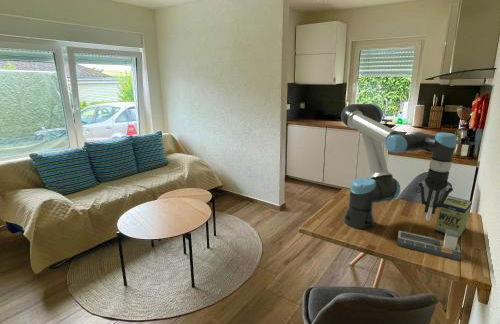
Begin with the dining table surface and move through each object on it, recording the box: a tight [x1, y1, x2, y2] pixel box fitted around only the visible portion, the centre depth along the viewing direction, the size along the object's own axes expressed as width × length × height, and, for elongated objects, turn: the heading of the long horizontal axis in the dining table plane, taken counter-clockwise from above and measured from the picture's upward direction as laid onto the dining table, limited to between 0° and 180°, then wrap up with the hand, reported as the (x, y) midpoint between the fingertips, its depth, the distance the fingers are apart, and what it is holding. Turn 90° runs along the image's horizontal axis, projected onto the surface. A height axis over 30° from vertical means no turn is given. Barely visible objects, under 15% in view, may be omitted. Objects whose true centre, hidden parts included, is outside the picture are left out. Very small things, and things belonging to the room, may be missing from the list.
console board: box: [396, 229, 462, 262], centre depth 134 cm, size 24×12×3 cm, turn 62°
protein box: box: [434, 195, 473, 241], centre depth 146 cm, size 10×16×16 cm
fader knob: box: [443, 229, 460, 250], centre depth 129 cm, size 4×5×7 cm
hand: (427, 219), depth 132 cm, fingers closed
